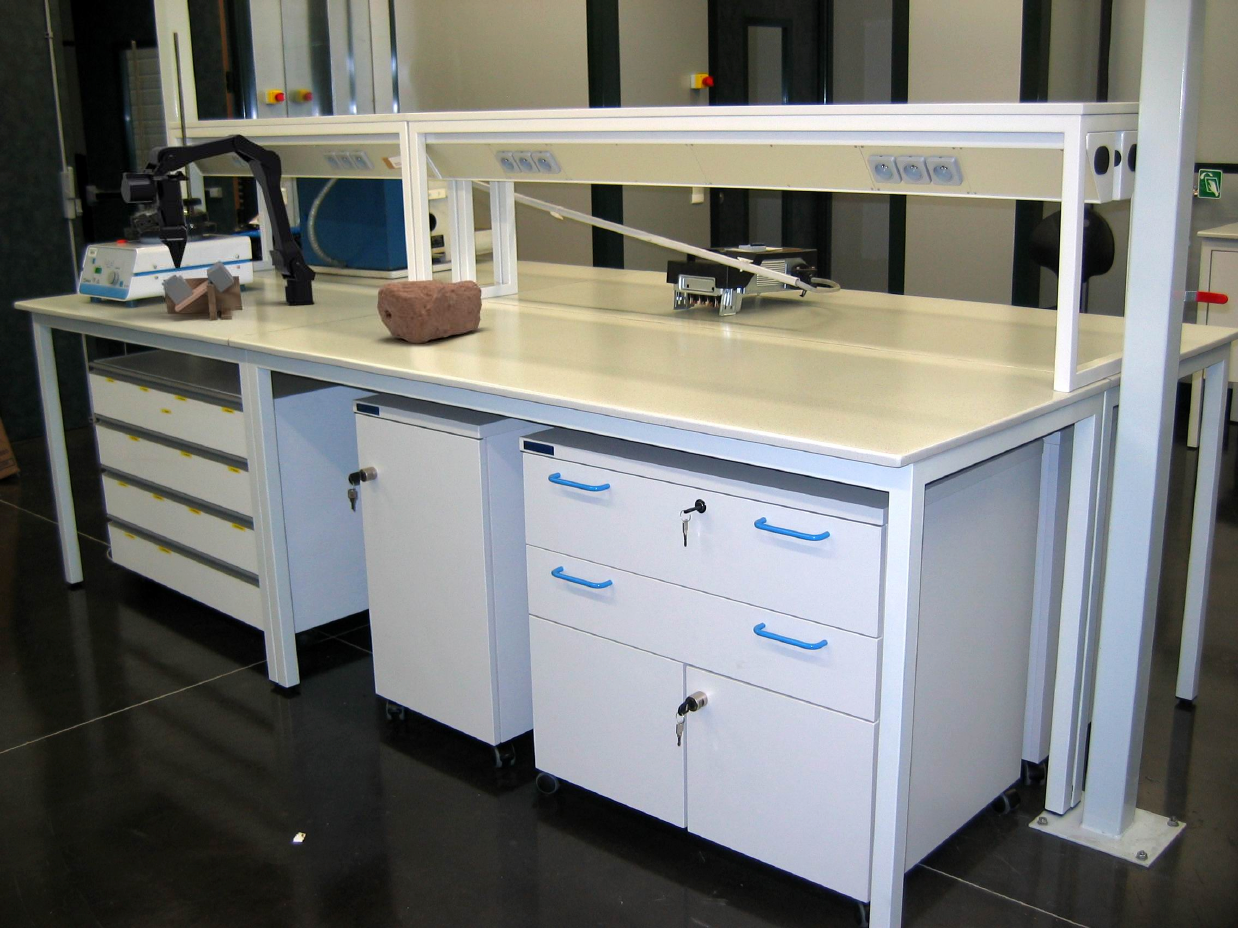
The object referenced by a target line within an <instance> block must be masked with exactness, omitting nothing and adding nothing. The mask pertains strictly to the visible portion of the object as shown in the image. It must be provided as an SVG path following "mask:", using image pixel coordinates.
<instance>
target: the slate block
mask: <svg viewBox="0 0 1238 928" xmlns="http://www.w3.org/2000/svg"><path fill="white" fill-rule="evenodd" d="M185 279H186V278H184V277H183V276H182V275H181V274H180V275H179V276H178V275H177V274H173V275H171V276H169V277H168V278H166V279H164V280H165V281H162V282H161V286H163V291H164V293H165V292H166V293H167V294H168V295H169V297H170V298H171V299H172V300H173V301H174V303H175V304H176V305H179V304H180V303H182V302H183V301H185V300H186V299H187V298H189V297H190V296H192V295H193V294H194V290H193V289H192V288H191V287H190V285H189V284H188V283H187V282H186V281H185Z"/></svg>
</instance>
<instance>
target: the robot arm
mask: <svg viewBox="0 0 1238 928" xmlns="http://www.w3.org/2000/svg"><path fill="white" fill-rule="evenodd" d="M230 153H234V154H235V155H236V156H237V157H238V158H239V159H241V160H242V161H244V163H247V164H248V166H249V169H250V171H251V173H252V176H253V177H254V179H255V180H256V182H257V183H258V185H259V186H260V188H261V191H262V195H263V199H264V203H265V207H266V211H267V215H268V219H269V223H270V226H271V231H272V235H273V238H274V247H273V248H274V249H270V250H269V251H268V253H269V255H270V258H271V263H272V264H271V265H272V266H273V267H274V268H275V270H276V271H277V272H278V273H280V274H281V277H282V279H283V280H285V281H286V282H285V283H286V285H284V295H285V302H286V303H287V304H288V306H295V305H297V306H299V305H301V306H302V305H313V304H315V300H314V298H313V297H314V295H313V284H312V281H313V282H314V281H315V279H316V278H315V277H316V275H317V274H316V271H315V270H313V269H312V268H311V267H310V266H309V265H308V264H307V263H306V259H305V257H304V255H303V252H302V250H301V248H300V247H299V245H298V244H297V243H296V241H295V239H294V235H293V232H292V228H291V224H290V219H289V215H288V212H287V207H286V204H285V199H284V195H283V191H282V187H281V181H282V175H283V170H282V160H281V157H280V155H279V154H278V153H277V152H275V151H274V150H271V149H266V148H265V147H262V146H261V145H259V144H257V143H255V142H253V141H251V140H249V139H248V138H246V137H245V136H244V135H242V134H241V133H240V134H238V133H237V134H236V133H235V134H234V133H233V134H228V135H227V136H223V137H219V138H214V139H210V140H209V139H208V140H205V141H202V142H197V143H193V144H189V145H177V146H176V145H174V146H171V145H170V146H157V147H153V148H152V149H151V150H150V153H149V155H148V162H146V165H145V167H144V168H143V169H142V171H141V172H140V173H132V172H124V173H122V181H121V187H120V192H121V197H122V198H123V201H124V202H125V203H126V204H128V203H129V204H130V203H131V204H132V203H149V202H150V203H151V202H153V200H154V199H155V198H156V200H157V201H156V203H157V206H156V211H155V212H152V213H150V214H146V213H145V212H143V213H142V214H138V215H137V216H138V217H137V219H135V220H134V224H135V226H136V228H137V230H138V232H139V234H143V233H146V232H147V231H148V230H151V229H153V228H157V227H158V228H159V230H158V238H159V240H160V243H162V244H164V245H165V246H167V248H168V252H169V254H170V257H171V260H172V263H173V265H174V268H175V269H180V268H181V265H182V262H183V258H184V254H185V250H186V247H187V243H188V236H189V228H188V227H189V226H188V224H187V223H186V218H185V206H184V201H183V199H184V198H183V192H182V185H181V184H182V183H181V182H185V181H186V182H188V181H190V177H188V176H187V175H186V174H184V173H183V171H181V170H180V169H183V168H185V167H187V166H188V165H190V164H192V163H194V162H196V161H200V160H204V159H208V158H209V159H210V158H214V157H217V156H222V155H225V154H230ZM170 172H174V173H171V174H169V173H170ZM167 173H168V174H167ZM154 177H155V179H154ZM157 177H161V178H157ZM156 178H157V179H156Z"/></svg>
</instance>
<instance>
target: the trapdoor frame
mask: <svg viewBox="0 0 1238 928" xmlns="http://www.w3.org/2000/svg"><path fill="white" fill-rule="evenodd" d="M232 276H233V275H232ZM184 279H185V281H186V282H187V283H188V284H189V285H190V287H191V288H192V289H193V290H194V289H195V288H197V287H198V286H200V285H201V284H202V283H204V282H205V281H207V280H208V279H209V277H208V276H206V277H192V278H191V277H190V278H184ZM233 279H234V283H233V284H232V285H230V286H229V287H228V288H226V289H225V290H223V291H222V292H220V291H219V290H218V289H217V287H216V286H215V285H214V284H213V282H212V285H207V291H206V292H205V293H203V294H202V295H201V296H199V297H198V298H196V299H195V300H194V301H192V302H191V303H189V304H188V305H186V306H185V307H184V308H182V309H181V310H179V311H178V312H177V311H176V310H175V306H176V304H175V303H174V301H173V300H172V299H171V298H170V297H169V295H168V294H167V293H166V292H165V291H164V297H165V303H166V304H165V305H166V313H167V314H168V315H172V314H173V315H175V314H176V315H177V314H191V313H207V312H209V317H210V321H218V313H217V312H220V313H221V320H225V321H226V320H228V321H229V320H233V314H232V311H242V310H243V304H242V303H243V302H242V293H241V285H240V284H241V283H240V276H239V275H234V276H233ZM165 280H166V279H163V281H162V282H164V281H165Z"/></svg>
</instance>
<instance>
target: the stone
mask: <svg viewBox="0 0 1238 928" xmlns="http://www.w3.org/2000/svg"><path fill="white" fill-rule="evenodd" d="M379 288H380V289H379V290H378V292H377V298H378V299H377V311H378V314H379V316H380V319H381V322H382V324H383V325H384V326H385V327H386V328H387V330H388V332H389V333H390V335H391V336H392V337H394V338H398V339H402V340H403V339H404V340H405V341H407V342H408V343H409V344H410V343H411V344H422V343H423V344H424V343H427V342H429V340H435V339H439V338H440V339H441V338H446V337H449V336H454V335H461V334H466V333H469V332H473V331H476V330H478V327H479V326H480V322H481V320H482V319H481V310H482V307H483V306H482V305H483V303H482V298H481V297H482V291H483V290H482V288H481V287H480V286H479V285H478V283H476V281H474V280H468V279H467V280H461V281H456V282H443V281H441V280H436V279H426V280H411V281H410V280H403V281H402V280H401V281H395V282H394V281H393V282H387V283H384V284H382V286H381V287H379Z"/></svg>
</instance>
